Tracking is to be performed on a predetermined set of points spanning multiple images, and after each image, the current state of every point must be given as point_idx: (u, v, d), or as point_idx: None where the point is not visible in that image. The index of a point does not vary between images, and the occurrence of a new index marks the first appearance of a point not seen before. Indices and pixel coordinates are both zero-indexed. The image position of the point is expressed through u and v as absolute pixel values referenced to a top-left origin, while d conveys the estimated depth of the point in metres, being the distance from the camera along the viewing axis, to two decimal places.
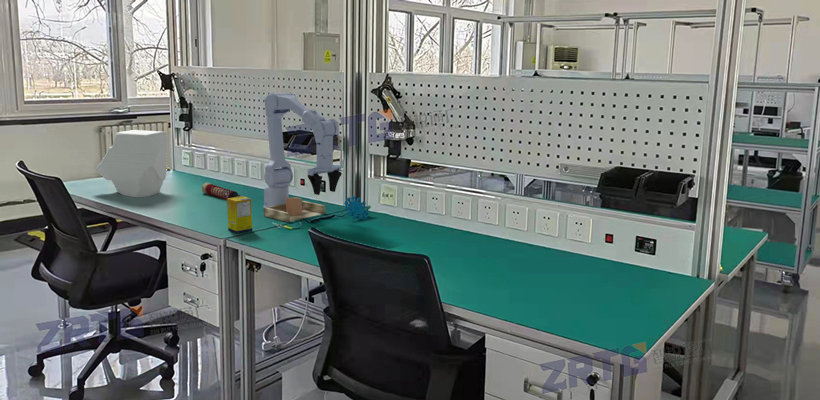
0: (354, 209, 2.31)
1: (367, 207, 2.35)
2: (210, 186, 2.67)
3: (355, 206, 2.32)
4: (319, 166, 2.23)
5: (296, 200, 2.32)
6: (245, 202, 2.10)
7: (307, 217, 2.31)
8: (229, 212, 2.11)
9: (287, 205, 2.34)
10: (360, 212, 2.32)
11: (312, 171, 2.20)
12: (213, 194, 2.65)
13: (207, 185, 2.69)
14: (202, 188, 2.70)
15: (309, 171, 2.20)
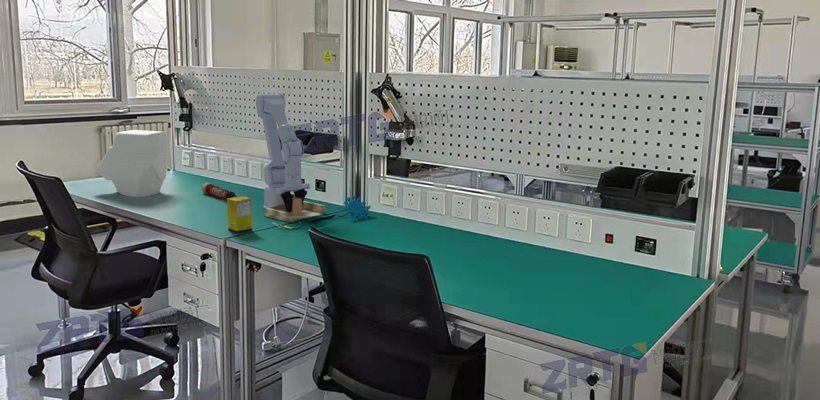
0: (354, 209, 2.32)
1: (367, 207, 2.36)
2: (209, 186, 2.66)
3: (355, 206, 2.33)
4: (288, 185, 2.30)
5: (296, 200, 2.32)
6: (245, 202, 2.10)
7: (307, 217, 2.31)
8: (229, 212, 2.11)
9: None
10: (360, 212, 2.32)
11: (280, 190, 2.27)
12: (212, 194, 2.64)
13: (207, 185, 2.68)
14: (202, 188, 2.70)
15: (277, 190, 2.27)
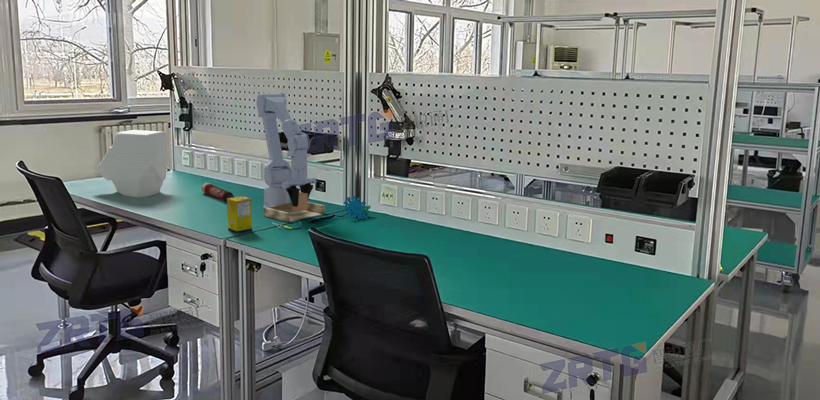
0: (353, 209, 2.32)
1: (367, 207, 2.36)
2: (209, 186, 2.66)
3: (355, 206, 2.33)
4: (293, 179, 2.28)
5: (302, 195, 2.30)
6: (245, 202, 2.10)
7: (307, 217, 2.31)
8: (229, 212, 2.11)
9: None
10: (359, 212, 2.32)
11: (286, 184, 2.25)
12: (211, 194, 2.64)
13: (206, 185, 2.68)
14: (202, 188, 2.70)
15: (283, 184, 2.25)
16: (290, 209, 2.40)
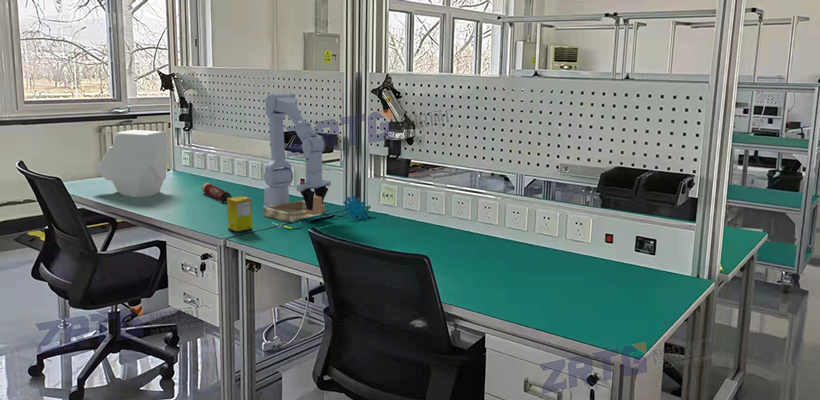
0: (353, 209, 2.32)
1: (367, 207, 2.36)
2: (208, 186, 2.66)
3: (354, 206, 2.33)
4: (308, 182, 2.23)
5: (316, 198, 2.25)
6: (245, 202, 2.10)
7: (307, 217, 2.31)
8: (229, 212, 2.11)
9: None
10: (359, 212, 2.32)
11: (301, 187, 2.20)
12: (210, 194, 2.64)
13: (206, 185, 2.68)
14: (202, 188, 2.70)
15: (298, 187, 2.20)
16: (290, 209, 2.40)
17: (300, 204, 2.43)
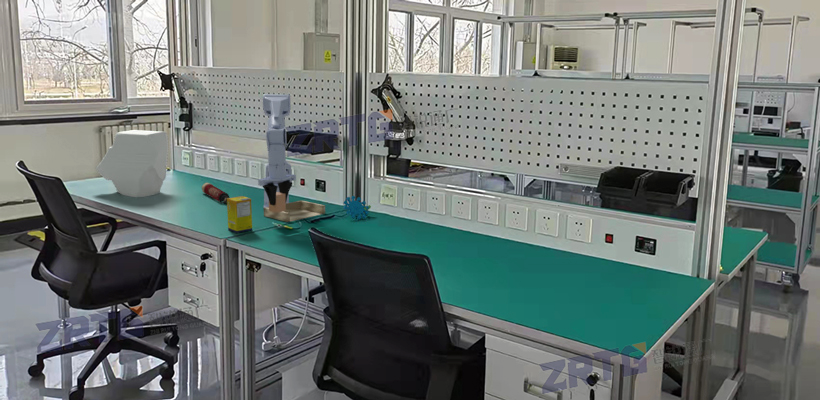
0: (353, 209, 2.32)
1: (367, 207, 2.36)
2: (208, 186, 2.66)
3: (354, 206, 2.33)
4: (271, 176, 2.14)
5: (279, 195, 2.16)
6: (245, 202, 2.10)
7: (307, 217, 2.31)
8: (229, 212, 2.11)
9: None
10: (359, 212, 2.32)
11: (263, 181, 2.10)
12: (209, 194, 2.64)
13: (206, 185, 2.68)
14: (202, 188, 2.70)
15: (260, 181, 2.11)
16: (290, 209, 2.40)
17: (300, 204, 2.43)
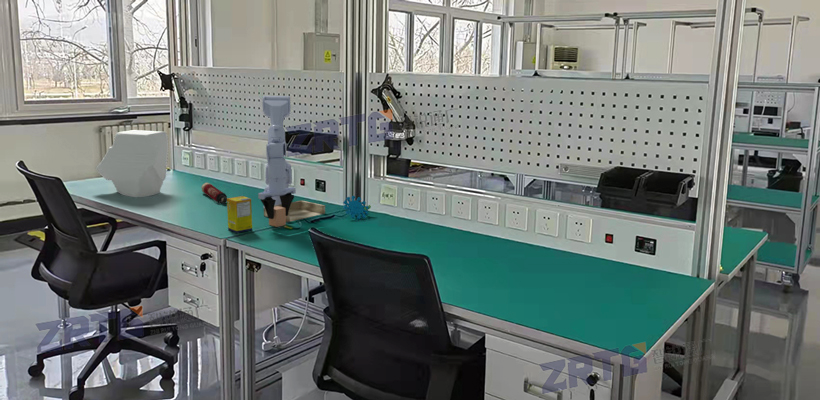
0: (353, 209, 2.32)
1: (367, 207, 2.36)
2: (207, 186, 2.66)
3: (354, 206, 2.33)
4: (271, 189, 2.14)
5: (279, 210, 2.17)
6: (245, 202, 2.10)
7: (307, 217, 2.31)
8: (229, 212, 2.11)
9: None
10: (359, 212, 2.33)
11: (263, 195, 2.11)
12: (208, 194, 2.64)
13: (205, 185, 2.68)
14: (201, 187, 2.70)
15: (260, 195, 2.12)
16: (290, 209, 2.40)
17: (300, 204, 2.43)
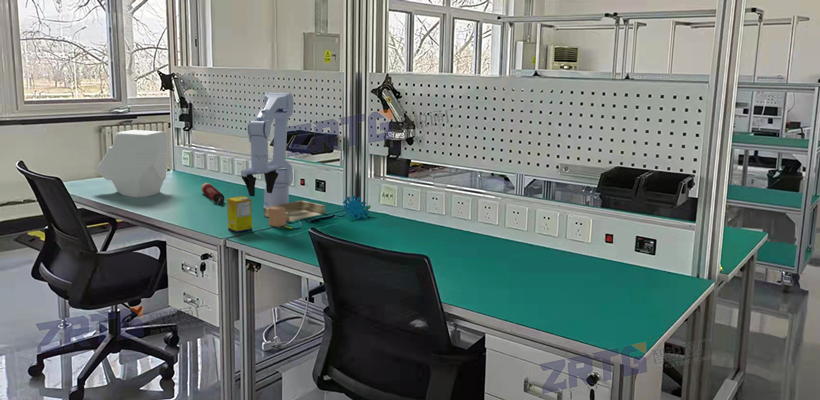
0: (353, 208, 2.32)
1: (367, 207, 2.36)
2: (206, 186, 2.66)
3: (354, 205, 2.33)
4: (253, 167, 2.19)
5: (279, 210, 2.17)
6: (245, 202, 2.10)
7: (307, 217, 2.31)
8: (229, 212, 2.11)
9: (270, 215, 2.18)
10: (359, 212, 2.33)
11: (245, 172, 2.15)
12: (207, 194, 2.63)
13: (205, 185, 2.68)
14: (201, 188, 2.70)
15: (242, 172, 2.16)
16: (290, 209, 2.40)
17: (300, 204, 2.43)
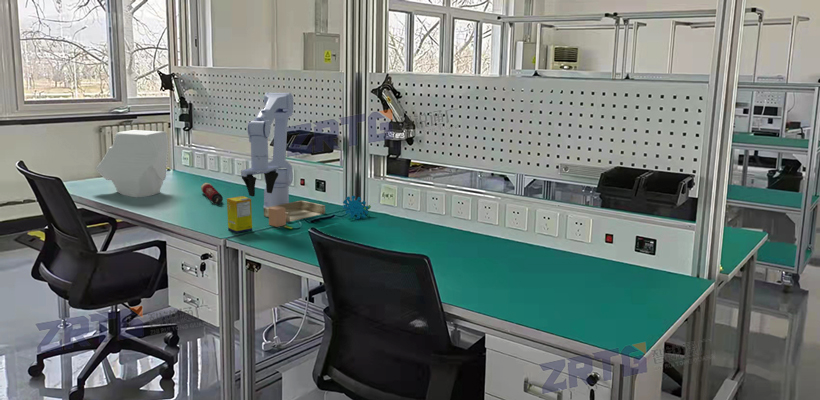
0: (352, 208, 2.32)
1: (367, 207, 2.36)
2: (206, 186, 2.66)
3: (354, 205, 2.33)
4: (253, 167, 2.19)
5: (279, 210, 2.17)
6: (245, 202, 2.10)
7: (307, 217, 2.31)
8: (229, 212, 2.11)
9: (270, 215, 2.18)
10: (358, 211, 2.33)
11: (245, 172, 2.15)
12: (206, 195, 2.63)
13: (205, 185, 2.68)
14: (201, 188, 2.70)
15: (242, 172, 2.16)
16: (290, 209, 2.40)
17: (300, 204, 2.43)
